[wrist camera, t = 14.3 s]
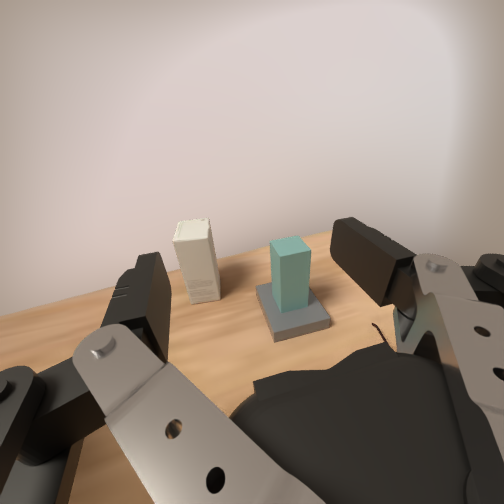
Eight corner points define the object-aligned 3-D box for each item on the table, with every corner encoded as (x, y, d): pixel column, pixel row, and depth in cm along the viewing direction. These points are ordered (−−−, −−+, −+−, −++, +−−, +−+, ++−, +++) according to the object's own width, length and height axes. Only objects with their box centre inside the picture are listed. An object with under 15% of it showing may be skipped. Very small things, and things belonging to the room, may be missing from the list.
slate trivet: (274, 342, 38) (273, 332, 37) (256, 295, 48) (255, 286, 47) (329, 327, 40) (330, 317, 38) (300, 284, 50) (301, 275, 48)
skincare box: (194, 280, 54) (177, 220, 46) (222, 276, 54) (210, 216, 46) (190, 306, 47) (169, 240, 39) (222, 301, 47) (208, 235, 39)
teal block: (281, 313, 40) (279, 256, 34) (272, 294, 44) (269, 241, 38) (307, 306, 41) (311, 250, 34) (296, 289, 45) (297, 235, 39)
